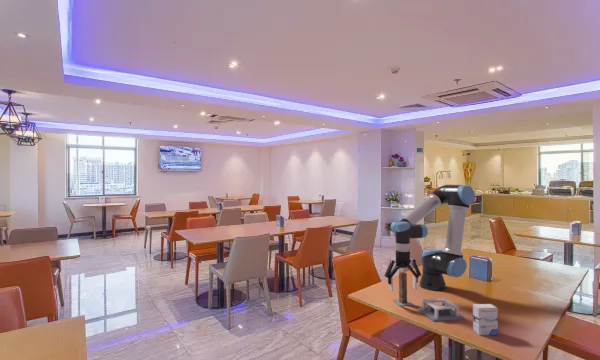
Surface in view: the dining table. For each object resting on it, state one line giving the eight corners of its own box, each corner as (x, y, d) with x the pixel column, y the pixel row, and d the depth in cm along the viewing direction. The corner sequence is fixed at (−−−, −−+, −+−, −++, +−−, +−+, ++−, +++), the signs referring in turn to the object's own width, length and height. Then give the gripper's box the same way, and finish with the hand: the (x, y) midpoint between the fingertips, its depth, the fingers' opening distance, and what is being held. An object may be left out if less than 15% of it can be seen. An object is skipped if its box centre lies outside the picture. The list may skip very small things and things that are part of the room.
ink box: (491, 329, 143) (491, 303, 143) (498, 335, 138) (498, 307, 138) (472, 330, 142) (472, 303, 142) (479, 335, 137) (478, 308, 137)
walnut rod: (404, 301, 176) (404, 271, 176) (407, 303, 173) (406, 273, 173) (399, 301, 176) (398, 272, 176) (401, 303, 173) (401, 273, 173)
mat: (406, 299, 179) (406, 299, 179) (413, 305, 171) (413, 304, 171) (392, 300, 178) (392, 300, 178) (399, 306, 170) (399, 305, 170)
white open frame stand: (446, 307, 168) (446, 297, 168) (463, 319, 154) (463, 307, 154) (417, 309, 165) (417, 299, 165) (433, 321, 151) (433, 309, 151)
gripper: (420, 248, 180) (420, 285, 180) (378, 249, 176) (378, 288, 176) (427, 251, 173) (427, 290, 173) (384, 252, 169) (384, 293, 169)
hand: (403, 289), depth 175 cm, fingers open, 13 cm apart
